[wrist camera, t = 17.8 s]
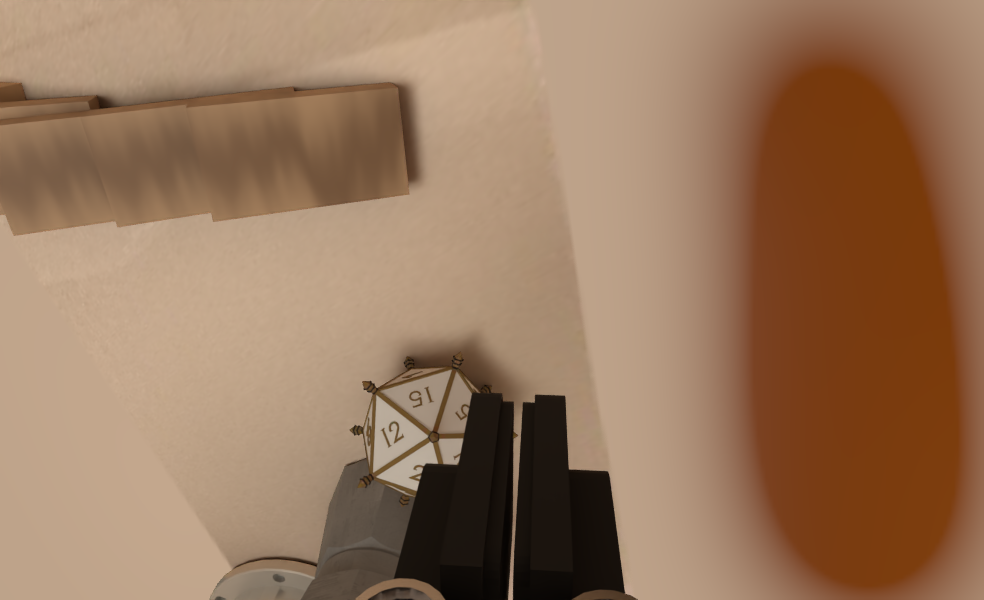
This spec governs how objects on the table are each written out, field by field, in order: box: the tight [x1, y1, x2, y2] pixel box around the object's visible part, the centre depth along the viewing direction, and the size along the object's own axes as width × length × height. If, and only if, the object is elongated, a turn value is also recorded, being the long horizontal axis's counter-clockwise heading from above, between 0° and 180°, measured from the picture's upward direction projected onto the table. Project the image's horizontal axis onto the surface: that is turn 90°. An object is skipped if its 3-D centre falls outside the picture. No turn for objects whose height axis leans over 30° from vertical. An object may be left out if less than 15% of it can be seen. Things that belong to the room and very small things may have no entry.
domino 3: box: [80, 87, 294, 227], centre depth 31 cm, size 5×2×9 cm
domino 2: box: [0, 110, 115, 236], centre depth 32 cm, size 5×2×9 cm
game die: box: [350, 352, 518, 507], centre depth 36 cm, size 9×8×10 cm
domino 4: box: [186, 83, 409, 222], centre depth 31 cm, size 5×2×9 cm
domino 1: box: [0, 95, 100, 215], centre depth 32 cm, size 5×2×9 cm
